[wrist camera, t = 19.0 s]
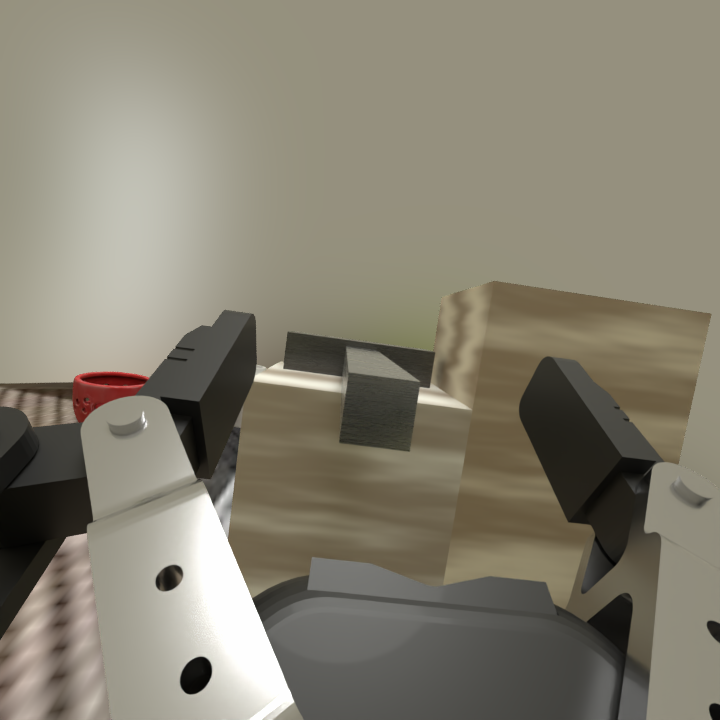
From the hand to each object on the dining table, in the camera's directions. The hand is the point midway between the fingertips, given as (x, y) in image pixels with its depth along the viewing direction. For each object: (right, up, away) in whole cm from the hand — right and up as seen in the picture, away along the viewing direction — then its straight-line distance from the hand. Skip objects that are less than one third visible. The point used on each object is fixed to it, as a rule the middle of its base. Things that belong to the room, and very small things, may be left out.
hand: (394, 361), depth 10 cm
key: (-1, -2, +12) cm, 13 cm away
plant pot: (-51, -15, +63) cm, 82 cm away
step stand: (+2, -26, +20) cm, 33 cm away
